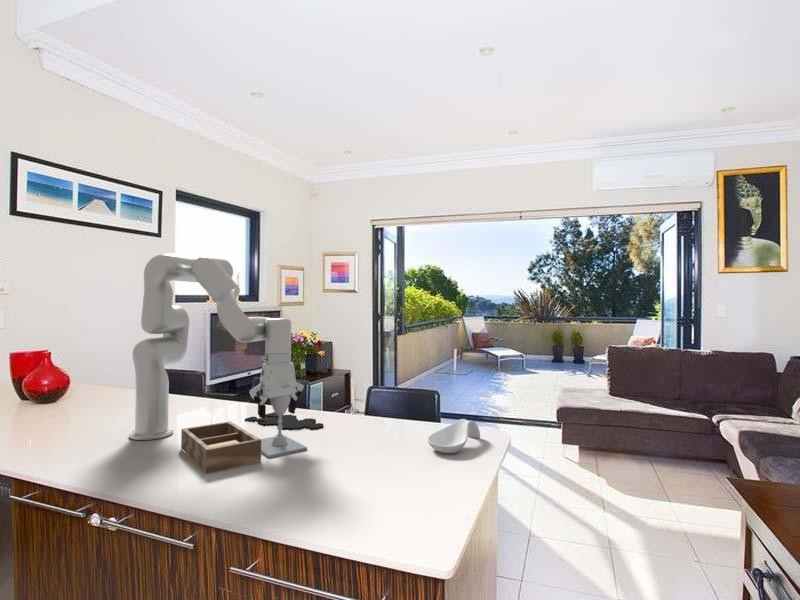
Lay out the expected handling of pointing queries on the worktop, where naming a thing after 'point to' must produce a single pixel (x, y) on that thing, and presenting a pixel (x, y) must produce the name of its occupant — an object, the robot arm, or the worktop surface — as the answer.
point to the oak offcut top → (223, 443)
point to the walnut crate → (222, 456)
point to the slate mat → (280, 447)
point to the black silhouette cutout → (287, 422)
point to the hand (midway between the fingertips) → (277, 415)
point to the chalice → (280, 416)
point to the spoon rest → (453, 436)
